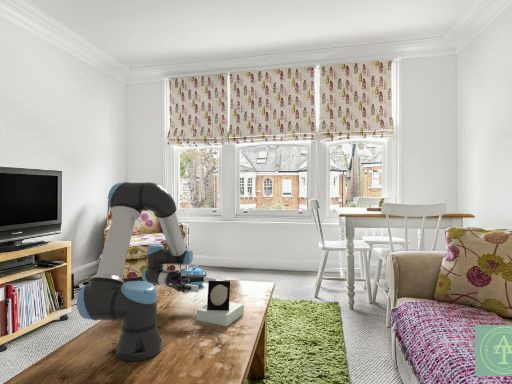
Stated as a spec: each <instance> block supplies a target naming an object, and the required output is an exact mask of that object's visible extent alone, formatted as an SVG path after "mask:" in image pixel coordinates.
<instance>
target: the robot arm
mask: <svg viewBox="0 0 512 384" xmlns="http://www.w3.org/2000/svg"><path fill="white" fill-rule="evenodd" d="M107 205H108V207H109V209H110V212H111V214H112V218H111V222H110V226H109V228H108V232H107V236H106V240H105V243H104V247H103V249H102V254H101V257H100V261H99V265H98V269H97V271H96V274H95V275H92V276H91V278H90V279H89V283H88V284H85V285H83V286H82V287H81V288H80V289H79V291H78V292H77V297H76V308H77V311H78V314H79V315H80V317H82V318H83V319H85V320H92V321H111V322H112V321H113V322H121V331H120V335H119V338H118V343H117V344H116V347H115V356H116V357H117V359H120V360H121V361H124V362H139V361H145V360H148V359H151V358H153V357H154V356H157V355H158V354H159V353H160V352H161V351H162V348H163V344H162V343H163V341H162V337H161V335H160V332H159V329H158V327H157V325H158V293H157V287H156V286H161V287H164V288H171V289H174V290H176V292H182V293H185V292H186V291H187V292H193V293H199V288H200V285H199V286H196V285H190V283H192V282H203V284H204V283H205V284H208V283H209V281H217V278H216V277H211V276H207V275H205V274H204V275H187V276H182V274H181V273H180V272H179V271H173V270H170V269H169V270H168V269H164V265H174V266H176V265H177V266H185V265H186V266H190V265H191V264H192V263H193V261H194V260H193V259H194V253H193V250H192V249H189V248H186V244H185V240H184V238H183V237H184V236H183V234H182V230H181V226H180V223H179V220H178V218H177V213H176V212H177V210H178V209H177V205H176V202H175V200H174V198H173V197H172V195H171V194H170V192H168V190H167V189H165V188H164V187H163V186H162V185H160V184H158V183H155V182H150V181H149V182H128V181H123V182H117V183H115V184H113V185H112V187H110V190H109V191H108V194H107ZM142 211H143V212H144V211H147V212H149V211H150V212H152V213H153V214H154V216H155V218H158V221H159V224H160V227H161V229H162V232H163V236H164V238H165V241H166V244H167V246H168V248H165V247H164V245H163V244H162V243H152V244H149V245H148V246H147V251H146V260H147V263H146V264H147V267H146V268H144V270H143V272H142V274H141V275H142V276H141V278H142V280H131V281H129V280H128V281H126V282H124V280H123V278H122V277H123V272H124V268H125V264H126V260H127V256H128V251H129V247H130V243H131V239H132V235H133V231H134V227H135V223H136V220H137V219H139V218H140V217H141V215H142ZM188 281H189V282H188ZM155 285H156V286H155Z"/></svg>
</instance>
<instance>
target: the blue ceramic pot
mask: <svg viewBox="0 0 512 384" xmlns="http://www.w3.org/2000/svg"><path fill="white" fill-rule="evenodd" d="M180 274H181V276H187V275H206V276H207V274H208V273H207V271H206V270H205V269H202V268H200V267H199V265H198V264H195V266H192V267H191V268H190V267H189V268H187V269H183V270H182V271H181V273H180ZM188 282H189V281H188ZM203 284H204V282H192V283H190V285H196V286H199V287H200V286H201V285H203Z"/></svg>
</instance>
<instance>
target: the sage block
mask: <svg viewBox="0 0 512 384" xmlns="http://www.w3.org/2000/svg"><path fill="white" fill-rule="evenodd" d="M244 307H245V305H244V303H238V302H233V301H229V311H220V310H207V303H206V304H205V305H202V306H201V307H200V308H197V309H196V321H199V322H204V323H208V324H209V323H210V324H212V325H213V324H215V325H220V326H223V327H229V326H230V325H231V324H233V322H235V321H236V320H237V319H239V318H240V317H242V316H243V315H244V314H245V311H244Z"/></svg>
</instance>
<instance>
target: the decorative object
mask: <svg viewBox="0 0 512 384" xmlns="http://www.w3.org/2000/svg"><path fill="white" fill-rule="evenodd" d="M207 284H208V285H207V300H206V301H207V303H206V304H207V310H220V311H229V302H230V296H231V281H230V280H216V281H209V283H207Z"/></svg>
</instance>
